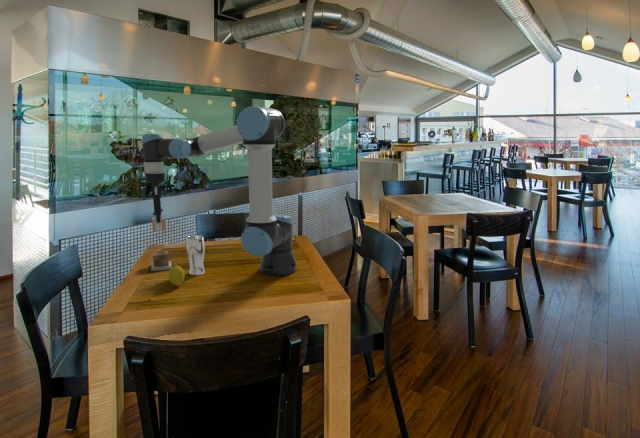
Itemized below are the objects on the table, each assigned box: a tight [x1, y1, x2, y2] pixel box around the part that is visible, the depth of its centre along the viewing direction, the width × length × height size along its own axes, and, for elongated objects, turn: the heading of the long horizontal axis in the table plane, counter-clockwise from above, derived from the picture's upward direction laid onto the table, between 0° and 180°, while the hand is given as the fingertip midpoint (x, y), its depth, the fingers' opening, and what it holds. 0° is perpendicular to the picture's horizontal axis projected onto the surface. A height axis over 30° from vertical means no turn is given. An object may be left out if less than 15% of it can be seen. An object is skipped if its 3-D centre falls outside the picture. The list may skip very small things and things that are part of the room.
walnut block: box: [152, 250, 170, 267], centre depth 178 cm, size 6×6×5 cm
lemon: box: [168, 265, 186, 287], centre depth 156 cm, size 6×6×8 cm
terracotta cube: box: [151, 215, 167, 232], centre depth 176 cm, size 5×5×5 cm
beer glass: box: [186, 234, 206, 276], centre depth 170 cm, size 7×7×15 cm
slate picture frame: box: [150, 260, 173, 272], centre depth 179 cm, size 9×8×1 cm
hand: (159, 228), depth 176 cm, fingers closed on terracotta cube, 5 cm apart
